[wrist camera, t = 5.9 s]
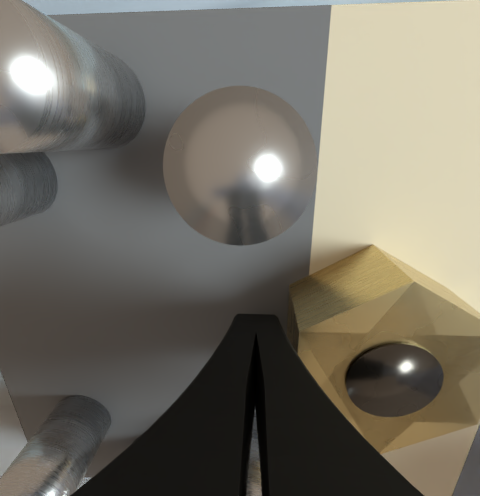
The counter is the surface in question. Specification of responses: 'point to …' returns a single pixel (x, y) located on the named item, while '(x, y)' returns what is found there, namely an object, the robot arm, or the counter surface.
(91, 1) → the counter surface
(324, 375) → the brass nut
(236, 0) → the counter surface
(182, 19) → the spacer mat
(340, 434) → the robot arm
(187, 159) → the standing spacers
